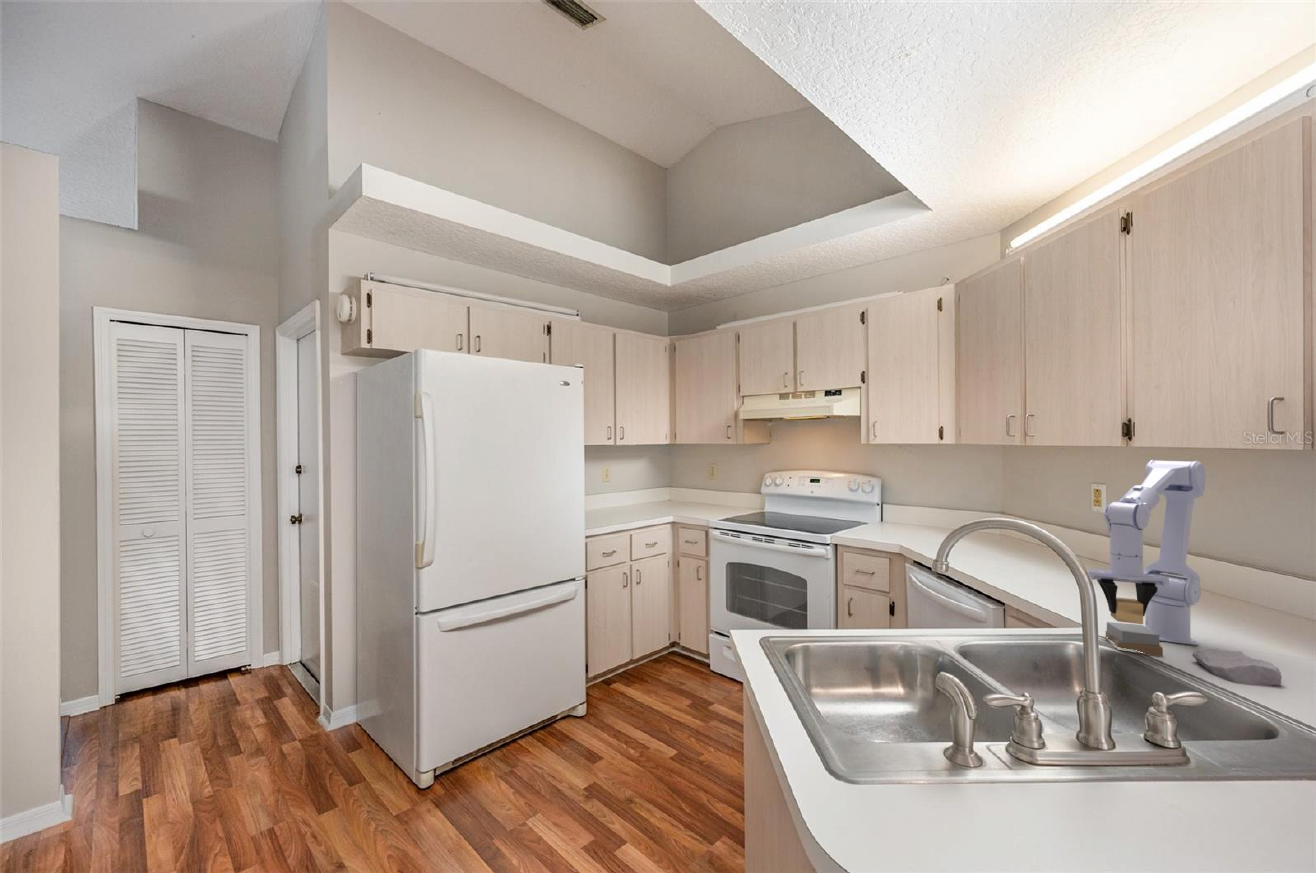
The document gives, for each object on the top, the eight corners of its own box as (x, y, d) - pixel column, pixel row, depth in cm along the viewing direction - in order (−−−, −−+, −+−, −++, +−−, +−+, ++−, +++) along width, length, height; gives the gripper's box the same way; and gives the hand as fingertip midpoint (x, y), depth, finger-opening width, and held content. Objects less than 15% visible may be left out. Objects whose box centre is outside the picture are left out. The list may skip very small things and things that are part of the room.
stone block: (1232, 693, 107) (1290, 687, 106) (1226, 668, 108) (1283, 662, 106) (1185, 670, 119) (1236, 665, 117) (1179, 648, 119) (1230, 643, 118)
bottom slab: (1105, 641, 131) (1105, 631, 131) (1147, 646, 128) (1147, 636, 128) (1118, 652, 124) (1118, 642, 124) (1162, 658, 121) (1162, 647, 121)
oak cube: (1110, 615, 126) (1110, 596, 126) (1134, 618, 124) (1134, 599, 124) (1117, 621, 122) (1117, 601, 122) (1143, 624, 120) (1143, 604, 120)
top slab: (1106, 632, 130) (1106, 622, 130) (1141, 635, 128) (1141, 625, 128) (1122, 642, 124) (1122, 631, 124) (1159, 646, 122) (1159, 635, 122)
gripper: (1093, 555, 123) (1093, 614, 123) (1175, 561, 117) (1175, 623, 117) (1083, 549, 129) (1083, 605, 129) (1161, 554, 123) (1161, 613, 123)
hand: (1126, 613), depth 123 cm, fingers closed on oak cube, 4 cm apart
